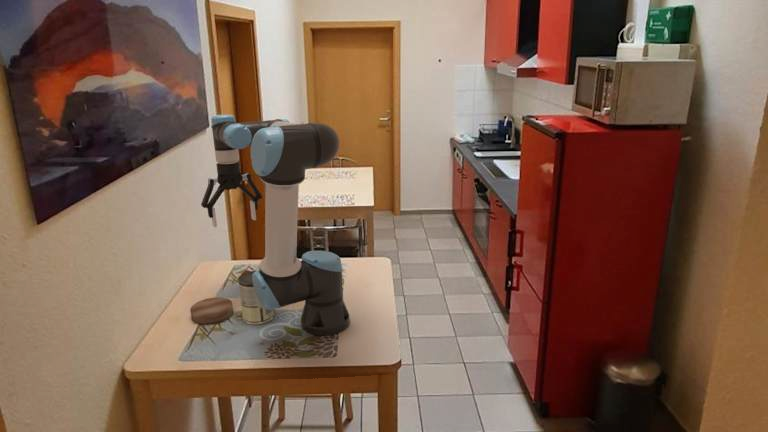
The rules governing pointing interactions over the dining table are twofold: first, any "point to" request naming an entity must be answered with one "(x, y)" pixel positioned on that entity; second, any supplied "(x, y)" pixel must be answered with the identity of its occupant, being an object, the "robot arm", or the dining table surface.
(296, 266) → the robot arm
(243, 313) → the coffee can
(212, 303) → the pedestal
